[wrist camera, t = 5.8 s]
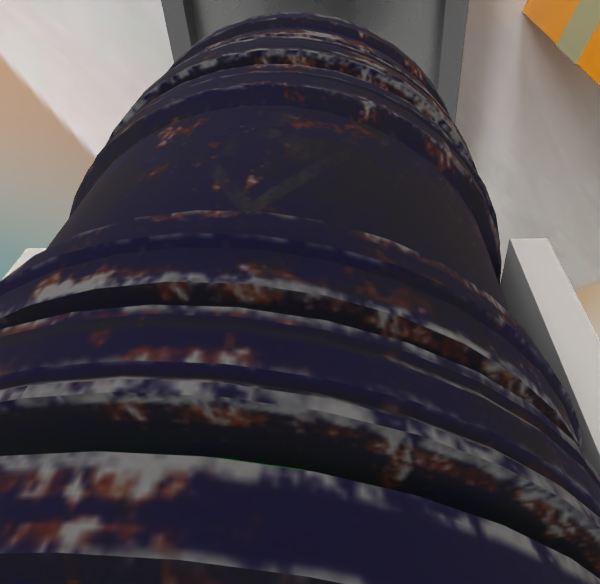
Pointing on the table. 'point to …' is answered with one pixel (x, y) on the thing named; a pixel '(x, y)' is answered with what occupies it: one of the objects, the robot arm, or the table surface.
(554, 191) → the table surface
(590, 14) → the orange juice
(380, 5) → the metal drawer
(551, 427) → the dark navy cylinder
